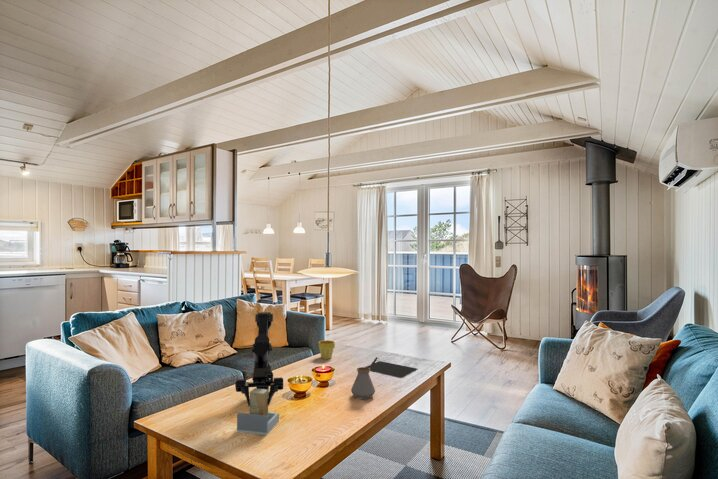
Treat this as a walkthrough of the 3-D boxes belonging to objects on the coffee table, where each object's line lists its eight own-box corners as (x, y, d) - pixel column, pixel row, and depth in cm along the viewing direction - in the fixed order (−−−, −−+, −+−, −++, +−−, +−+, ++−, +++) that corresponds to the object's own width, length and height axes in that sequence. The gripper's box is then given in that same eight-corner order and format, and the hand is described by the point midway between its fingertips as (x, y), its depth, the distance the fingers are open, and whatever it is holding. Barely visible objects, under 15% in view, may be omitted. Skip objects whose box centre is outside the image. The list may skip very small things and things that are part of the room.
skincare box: (248, 423, 156) (248, 391, 156) (254, 418, 160) (254, 387, 160) (263, 424, 154) (263, 393, 154) (268, 420, 159) (268, 389, 159)
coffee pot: (368, 402, 183) (368, 369, 183) (346, 397, 188) (346, 365, 188) (387, 388, 201) (387, 358, 202) (367, 384, 207) (367, 355, 207)
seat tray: (251, 418, 164) (251, 401, 164) (278, 421, 162) (279, 404, 162) (236, 432, 152) (237, 413, 152) (266, 435, 150) (266, 416, 150)
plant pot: (336, 355, 260) (336, 340, 260) (332, 360, 249) (333, 344, 249) (320, 354, 261) (320, 339, 261) (316, 359, 251) (316, 343, 251)
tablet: (418, 368, 233) (401, 377, 217) (418, 370, 233) (401, 379, 217) (379, 360, 249) (361, 368, 232) (379, 362, 249) (361, 370, 232)
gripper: (236, 359, 160) (232, 398, 149) (283, 357, 163) (283, 395, 152) (238, 372, 167) (234, 410, 156) (283, 370, 171) (282, 407, 160)
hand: (258, 405), depth 156 cm, fingers closed on skincare box, 7 cm apart
